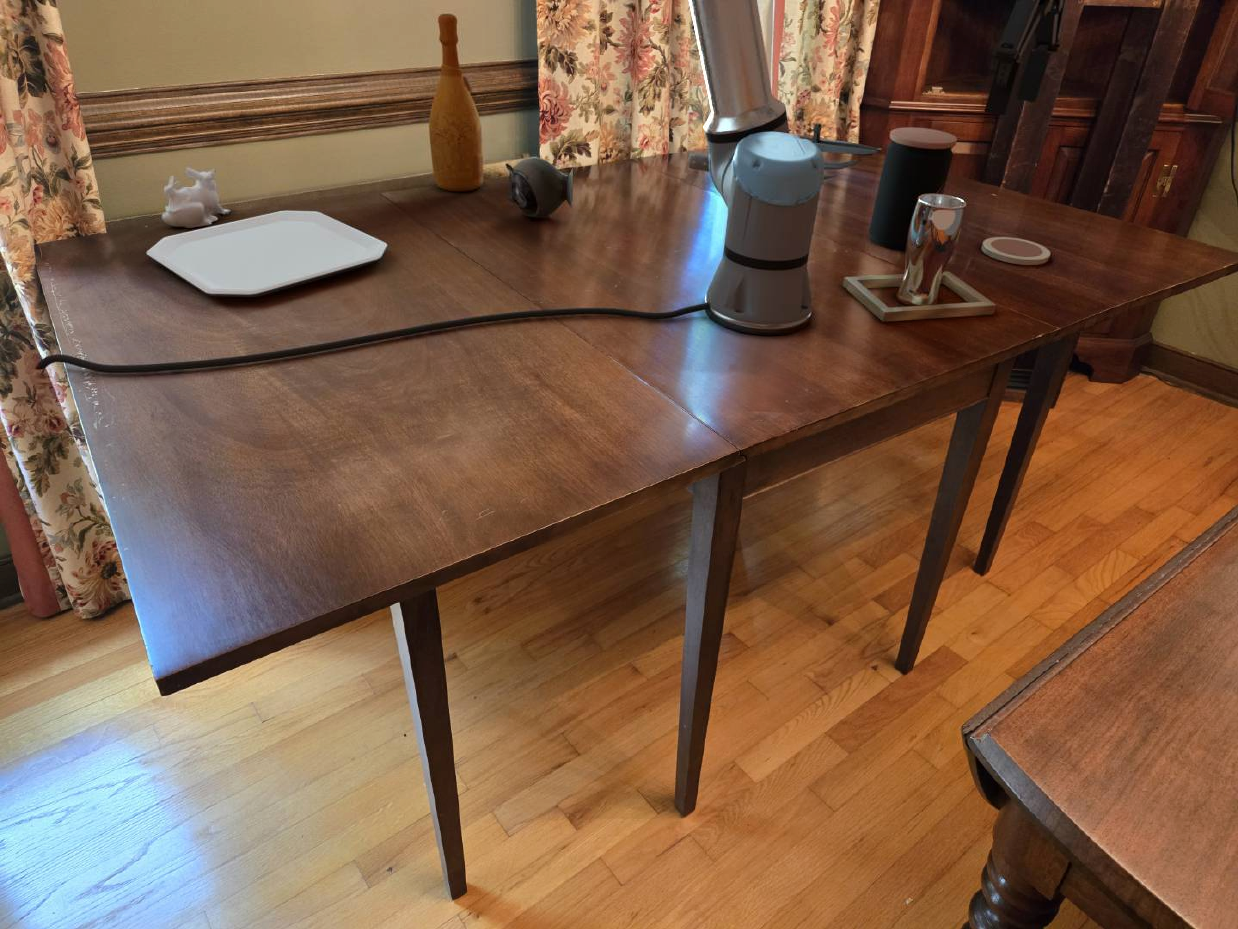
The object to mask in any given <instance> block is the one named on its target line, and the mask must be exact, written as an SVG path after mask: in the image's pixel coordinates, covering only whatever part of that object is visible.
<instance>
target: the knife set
mask: <svg viewBox="0 0 1238 929" xmlns="http://www.w3.org/2000/svg"><path fill="white" fill-rule="evenodd" d="M821 131H822V124H821V123H815V124H814V126H813V135H812V137H807V136H800V137H801V139H807V140H809V141H811V142H813V143H814V144H816V145H817V146H818V147H819V148H820V150H821V151H822V153H831V154H843V155H858V157H857V159H854V160H847V161H841V162H831V161H830V162H829V161H824V170H823V171H832V170H844V169H845V168H848V167H853V166H855V165H857V164H858V163H859V161H860V159H861V156H869V157H871V156H873V155H875V154H877V153H878V152H880V151H881V150H883V148H882V147H881V148H880V147H876V146H875V147H874V146H870V145H866V144H861V143H857V142H851V141H843V140H834V139H828V138H827V139H826V138H821ZM688 168H689V169H690V170H697V171H702V172H707V173H710V171H709V151H708V154H704V153H699V152H691V153H689V155H688ZM834 177H838V175H836V174H835V175H825V174H824V177H823V178H824V181H825V180H829V179H832V178H834Z"/></svg>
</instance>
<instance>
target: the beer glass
mask: <svg viewBox="0 0 1238 929" xmlns="http://www.w3.org/2000/svg"><path fill="white" fill-rule="evenodd" d="M966 207H967V202H966V201H965V200H963V199H961V198H959V197H956V196H953V195H949V194H944V193H943V194H923V195H920V196H919V197H918V201H917V204H916V207H915V210H914V213H913V216H912V219H911V223H910V227H909V232H908V237H907V247H906V251H905V263H904V264H905V266H904V271H903V272H904V273H903V274H904V277H903V280H902V283H901V285H900V286H899V287H898V289H897V291H896V294H895V298H896V300H897V301H898V302H899V303H901V304H903V305H906V306H907V307H909V306H925V305H938V301H939V291H940V285H941V284H940V280H941V277H942V275H943V272H945V270H946V268H947V266H948V264H949V262H950V259H951V257H952V256H953V254H954V251H955V249H956V247H957V244H958V241H959V238H960V235H961V231H962V227H963V223H964V217H965V211H966Z"/></svg>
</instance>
